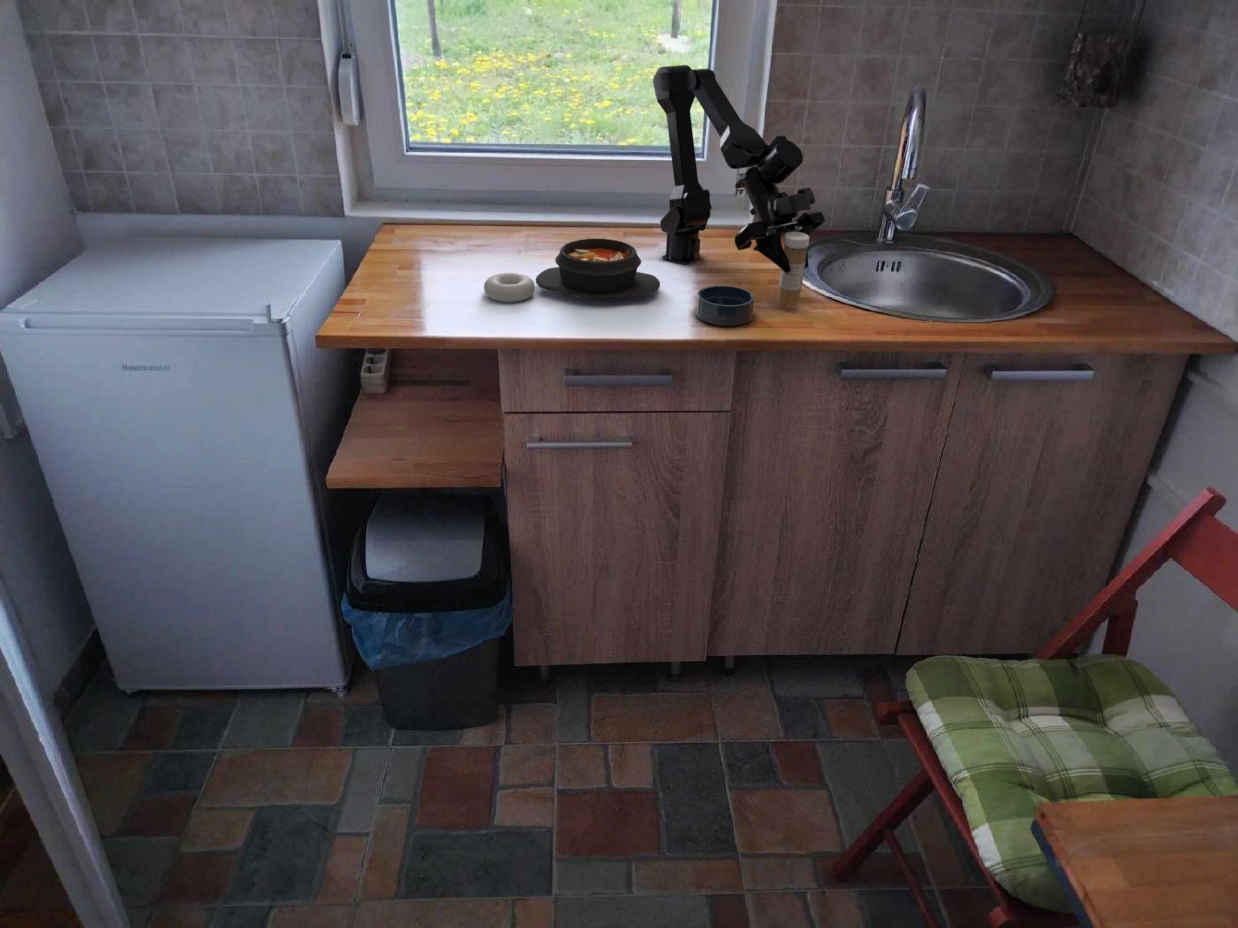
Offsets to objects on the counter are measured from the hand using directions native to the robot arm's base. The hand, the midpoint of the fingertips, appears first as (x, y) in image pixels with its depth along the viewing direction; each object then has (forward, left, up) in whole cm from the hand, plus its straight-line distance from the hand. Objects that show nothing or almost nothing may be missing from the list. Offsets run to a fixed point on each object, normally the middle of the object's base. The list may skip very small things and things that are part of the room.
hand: (797, 270), depth 174 cm
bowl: (-10, -10, -8) cm, 16 cm away
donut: (-50, -24, -8) cm, 56 cm away
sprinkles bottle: (-1, +1, -7) cm, 7 cm away
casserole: (-37, -12, -8) cm, 40 cm away
